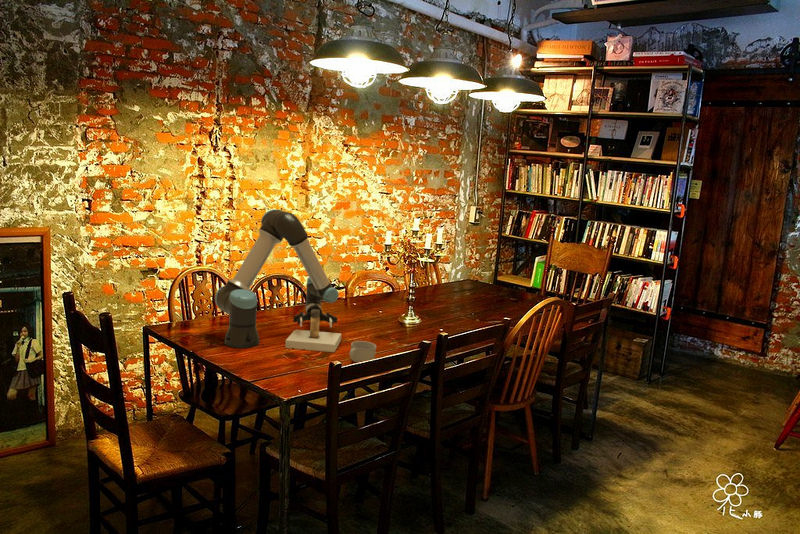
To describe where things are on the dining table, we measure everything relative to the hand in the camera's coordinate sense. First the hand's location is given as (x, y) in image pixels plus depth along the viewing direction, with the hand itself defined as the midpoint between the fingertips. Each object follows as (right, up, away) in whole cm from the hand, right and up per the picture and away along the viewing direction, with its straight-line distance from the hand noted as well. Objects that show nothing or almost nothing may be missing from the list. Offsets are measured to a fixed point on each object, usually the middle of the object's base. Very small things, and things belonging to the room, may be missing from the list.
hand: (316, 324), depth 286 cm
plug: (-1, -9, +1) cm, 9 cm away
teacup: (+21, -15, -20) cm, 33 cm away
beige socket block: (-1, -9, +1) cm, 9 cm away
